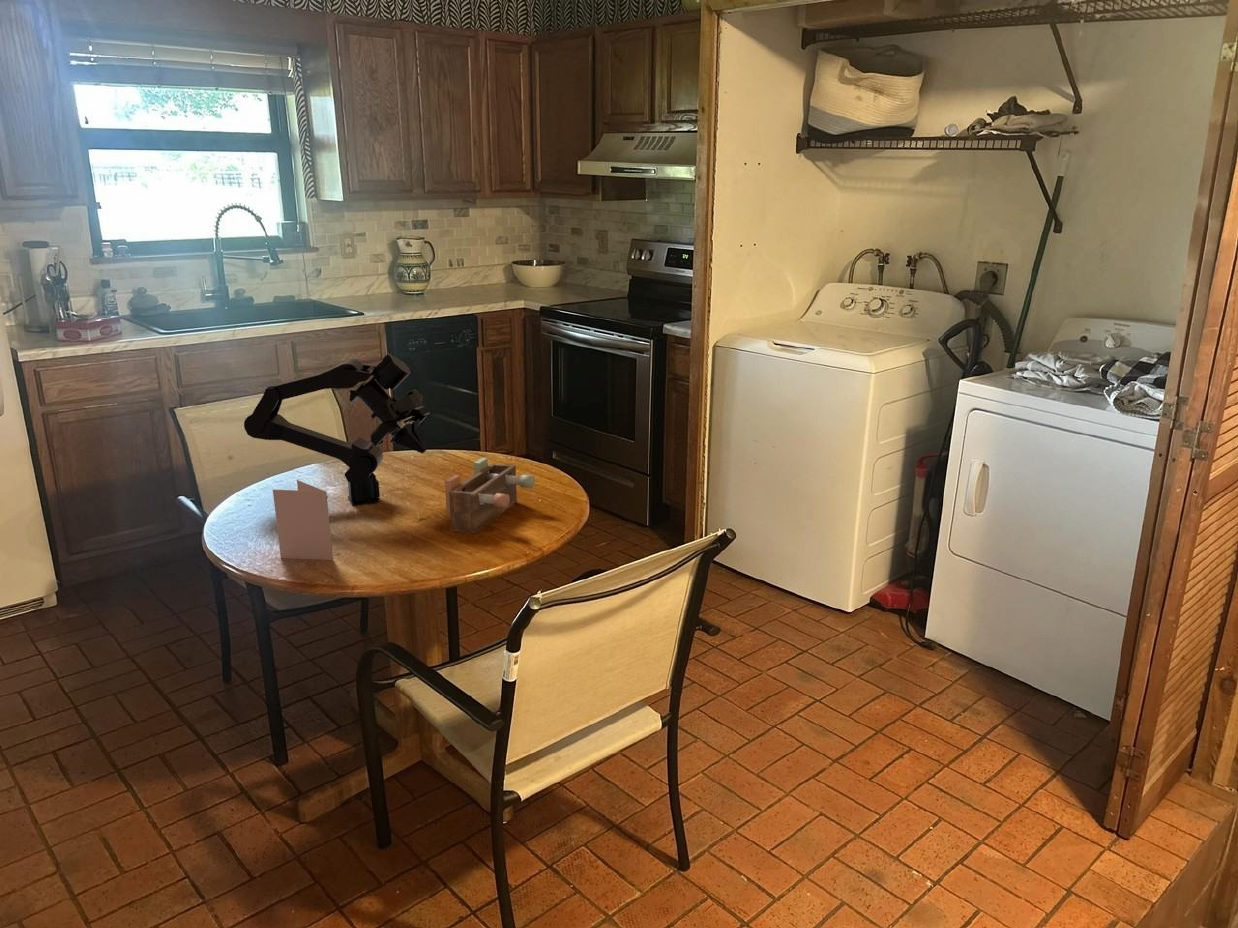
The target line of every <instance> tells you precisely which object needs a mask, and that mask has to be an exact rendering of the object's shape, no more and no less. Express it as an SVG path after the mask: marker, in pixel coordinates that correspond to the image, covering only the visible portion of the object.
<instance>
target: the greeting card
mask: <svg viewBox="0 0 1238 928" xmlns="http://www.w3.org/2000/svg"><path fill="white" fill-rule="evenodd" d="M296 487H297V489H294V490H292V489H272V497H273V503H274V512H275V513H274V514H275V521H276V530H277V537H278V546H279V554H280V555H279V556H280V558H282V559H297V558H299V559H303V560H317V561H319V560H320V561H334V555H333V554H334V553H333V543H332V535H331V534H332V533H331V532H332V531H331V525H330V524H331V523H330V515H329V513H330V512H329V505H328V503H329V502H328V495H327V493H328V492H327V491H326V490H323V489H320V488H318V487H317V486H316V487H315V486H313V485H311V484H308V483H306V482H304V481H301V480H299V479H296ZM299 559H298V560H299Z"/></svg>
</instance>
